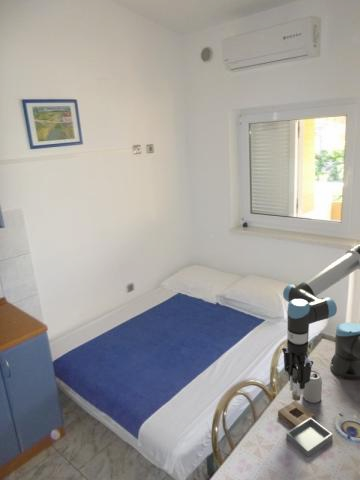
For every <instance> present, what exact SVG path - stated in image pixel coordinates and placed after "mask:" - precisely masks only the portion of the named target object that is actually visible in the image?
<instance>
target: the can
mask: <svg viewBox="0 0 360 480" xmlns="http://www.w3.org/2000/svg"><path fill="white" fill-rule="evenodd" d="M322 386H323V377H322V375H321V374H320V372H318V371H317V370H313V369H311V375H310V381H309V382H307V383H306V384H305V388H304V389H303V394H302V397H303V398H304V399H305V401H307V402H309V403H312V404H313V403H314V404H316V403H318V402H320V401H321V400H322V390H323V387H322Z"/></svg>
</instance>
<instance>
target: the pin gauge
mask: <svg viewBox="0 0 360 480" xmlns="http://www.w3.org/2000/svg"><path fill="white" fill-rule="evenodd" d="M298 380H299V376H298V366H297V365H296V366H293V384H292V391H291V392H292V397H291V398H292V400H293V401H297V402H298V401H300V400H301V395H300V396H297V381H298Z"/></svg>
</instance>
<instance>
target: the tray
mask: <svg viewBox="0 0 360 480" xmlns="http://www.w3.org/2000/svg"><path fill="white" fill-rule="evenodd" d="M333 436H334V435H333V433H332V432H331V431H329V430H328V429H327V428H325V427H324V426H323V425H322V424H321V423H319V422H318V421H317V420H316V419H315V420H314V419H312V418H311V417H310V418H309V419H307V420H305V421H304V422H302V423H301V424H299V425H298V426H296V427H295V428H291V429H290V430H288V431H287V432H286V436H285V437H286V439H287V440H288V442H290V443H291V444H293V446H295V447H296V448H297V449H298V450H299V451H300V452H301V453H302V454H304V455H305V456H306V457H307V458H309V457H310V456H311V455H313V454H314V453H315V452H317V451H318V450H320V449H322V447H324V446H326V445H327V444H329V443H330V442H331V441H333Z"/></svg>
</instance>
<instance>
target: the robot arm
mask: <svg viewBox="0 0 360 480" xmlns="http://www.w3.org/2000/svg"><path fill="white" fill-rule="evenodd" d="M357 270H360V243H357V244H356V245H353V246H352V247H350V248H349V249H347V250H346V251H345V254H344V255H341V256H340V258H337V259H336V260H335V261H333V262H331V263H330V264H329V265H327V266H326V267H324V268H322V269H321V270H320V271H318V272H316V273H315V274H313V275H312V276H310V277H309V278H307V279H306V280H304V281H302V282H301V283H300V284H298V285H296V284H294V283H293V284H288V285H286V286H285V288H284V289H283V293H282V296H283V298H284V300H285V301H286V302H288V305H287V315H286V316H287V337H286V338H287V339H286V341H287V342H286V346H284V347H282V348H281V349H282V353H283V365H284V366H283V367H284V371H285V373H286V372H287V374H288V381H289V391H291V392H292V384H293V366H298V376H299V380H298V381H297V396H300V397H301V395H302V396H303V389H304V388H305V384H306V383H307V382H309V381H310V375H311V370H312V366H313V364H314V361H313V360H310V359H309V358H308V354H307V353H308V350H309V333H310V332H309V331H310V330H309V328H310V324H314V323H316V322H320V321H324V320H328V319H330V318H332V317H334V316H335V315H336V314H337V311H338V306H337V304H336V302H335V300H334V299H332V298H331V297H327V296H326V297H322V298H320V297H318V296H319V295H320V294H321V293H323V292H325V291H327V290H328V289H330V288H331V287H333V285H335V284H336V283H338V282H340V281H341V280H343V279H344V278H346V277H348V276H349V275H351V274H352V273H353V272H355V271H357ZM334 340H335V342H334V343H335V345H334V347H335V348H334V349H335V350H334V354H333V356H332V358H331V360H330V365H329V368H330V371H331V372H332V373H333V374H334V375H336V376H338V377H339V378H342V379H345V380H356V381H357V380H360V324H359V323H355V322H343V323H341V324H339V325H337V327H336V329H335V339H334Z"/></svg>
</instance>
